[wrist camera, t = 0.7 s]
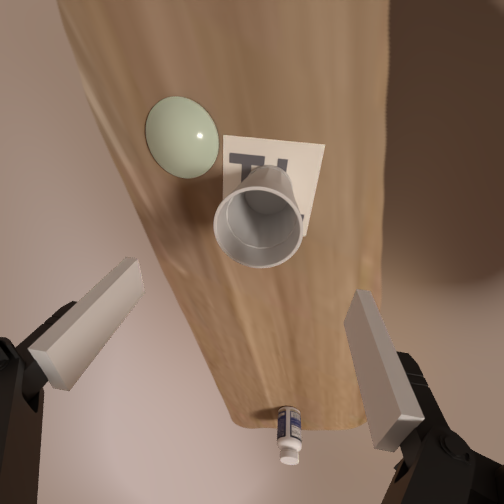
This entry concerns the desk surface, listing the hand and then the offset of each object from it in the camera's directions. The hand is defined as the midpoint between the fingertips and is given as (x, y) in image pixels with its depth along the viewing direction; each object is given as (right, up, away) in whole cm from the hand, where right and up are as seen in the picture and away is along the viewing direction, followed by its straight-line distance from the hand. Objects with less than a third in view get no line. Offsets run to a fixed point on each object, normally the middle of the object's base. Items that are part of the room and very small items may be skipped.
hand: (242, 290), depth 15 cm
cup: (+3, +11, +17) cm, 20 cm away
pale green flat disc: (-8, +16, +15) cm, 23 cm away
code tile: (+3, +10, +17) cm, 20 cm away
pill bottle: (+10, -37, +45) cm, 59 cm away
